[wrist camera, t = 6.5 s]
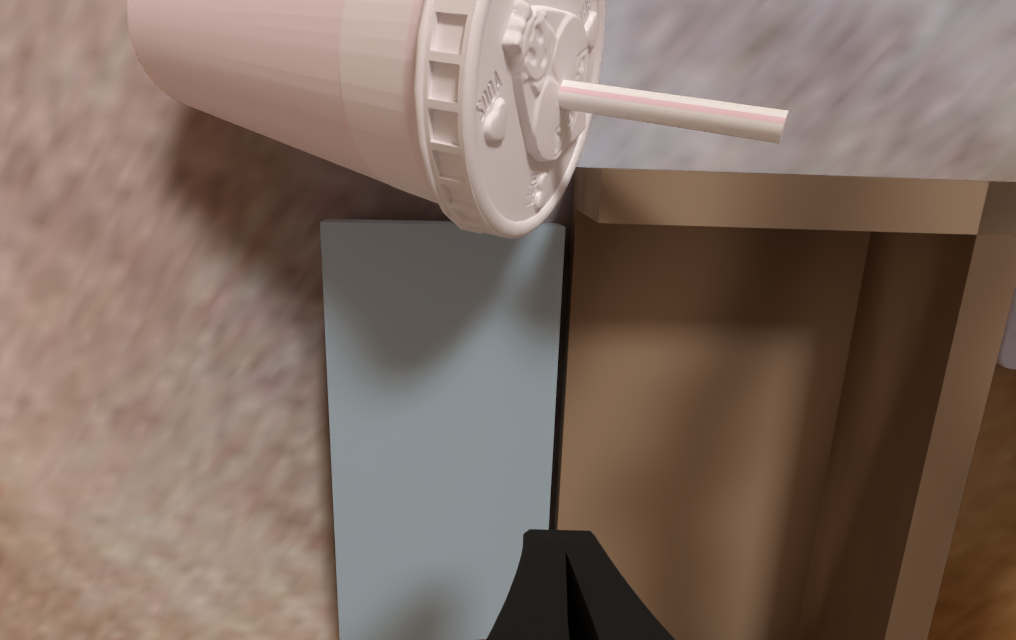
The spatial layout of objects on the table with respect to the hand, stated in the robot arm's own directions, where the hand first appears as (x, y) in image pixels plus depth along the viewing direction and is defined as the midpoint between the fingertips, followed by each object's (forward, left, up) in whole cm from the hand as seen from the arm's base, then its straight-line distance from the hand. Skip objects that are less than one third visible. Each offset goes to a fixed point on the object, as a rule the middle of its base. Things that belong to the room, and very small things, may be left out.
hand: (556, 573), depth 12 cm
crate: (-6, +1, -9) cm, 11 cm away
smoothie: (+9, -11, -7) cm, 16 cm away
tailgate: (-1, +1, -8) cm, 8 cm away
